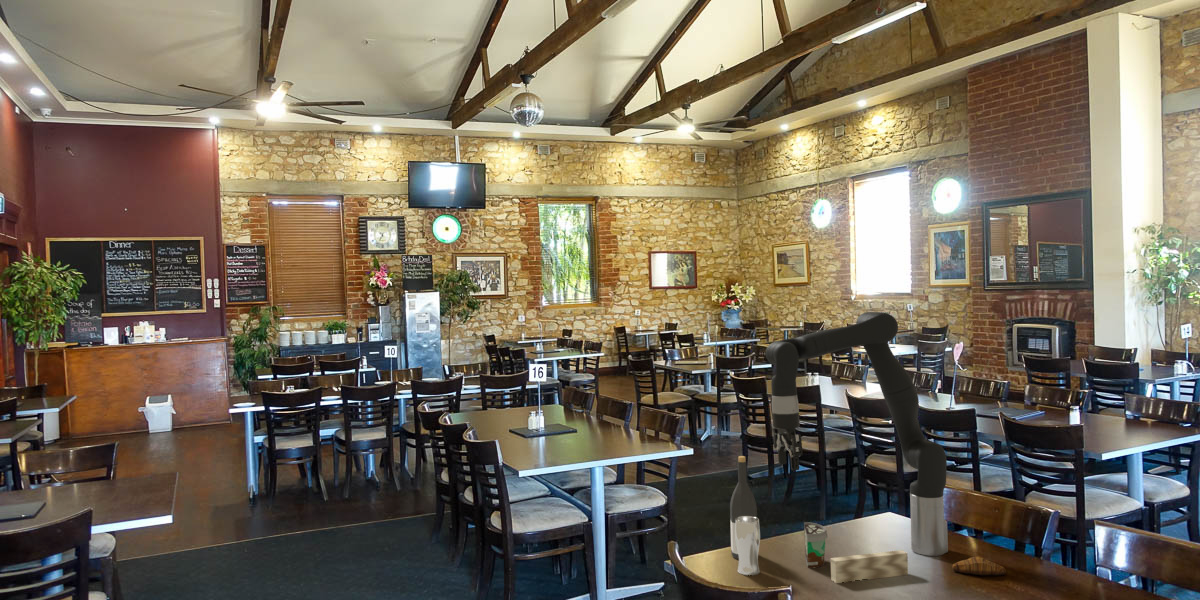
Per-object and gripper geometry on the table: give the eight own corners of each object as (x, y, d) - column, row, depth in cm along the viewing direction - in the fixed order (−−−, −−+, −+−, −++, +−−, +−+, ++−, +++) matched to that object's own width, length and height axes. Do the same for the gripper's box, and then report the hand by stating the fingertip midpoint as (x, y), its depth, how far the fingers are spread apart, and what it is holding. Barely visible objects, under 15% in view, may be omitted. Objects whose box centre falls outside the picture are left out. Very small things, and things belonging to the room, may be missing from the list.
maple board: (902, 571, 206) (901, 550, 206) (907, 574, 203) (907, 553, 203) (831, 579, 201) (830, 558, 201) (835, 583, 199) (835, 561, 199)
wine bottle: (728, 559, 219) (725, 458, 219) (734, 550, 227) (731, 453, 226) (755, 561, 216) (752, 460, 216) (760, 552, 223) (757, 454, 223)
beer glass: (762, 568, 211) (761, 516, 211) (759, 577, 204) (758, 523, 204) (738, 566, 213) (736, 514, 213) (734, 574, 207) (732, 521, 206)
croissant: (954, 576, 201) (954, 558, 201) (949, 567, 208) (949, 550, 208) (1009, 580, 198) (1009, 561, 198) (1002, 571, 204) (1002, 553, 204)
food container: (830, 570, 208) (829, 535, 208) (808, 569, 209) (807, 534, 209) (826, 555, 220) (825, 522, 220) (804, 554, 221) (804, 521, 221)
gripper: (808, 413, 205) (812, 471, 205) (787, 406, 219) (790, 461, 219) (783, 415, 204) (787, 473, 203) (763, 408, 218) (766, 463, 217)
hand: (788, 467), depth 211 cm, fingers open, 8 cm apart
